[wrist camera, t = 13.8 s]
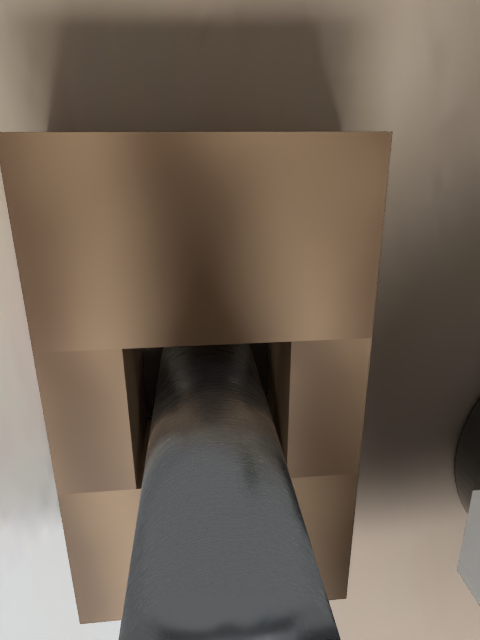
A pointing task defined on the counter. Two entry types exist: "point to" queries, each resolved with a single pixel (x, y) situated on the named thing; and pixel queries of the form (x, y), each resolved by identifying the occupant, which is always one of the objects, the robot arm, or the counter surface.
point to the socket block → (195, 309)
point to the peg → (219, 514)
